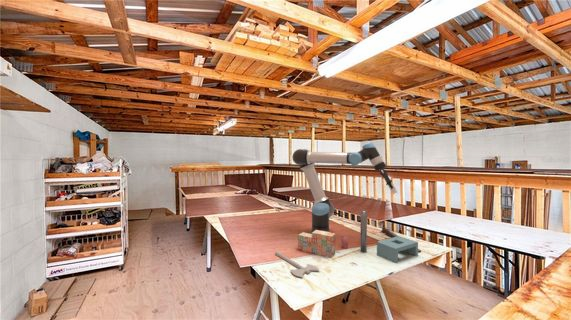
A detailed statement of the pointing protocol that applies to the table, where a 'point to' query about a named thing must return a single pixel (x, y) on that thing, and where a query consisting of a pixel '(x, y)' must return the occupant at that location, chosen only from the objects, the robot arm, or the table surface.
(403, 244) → the bridge
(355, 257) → the table surface
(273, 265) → the table surface
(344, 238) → the short pin
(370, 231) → the table surface
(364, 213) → the long pin
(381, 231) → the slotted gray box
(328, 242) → the stack of blocks
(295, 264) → the axe
